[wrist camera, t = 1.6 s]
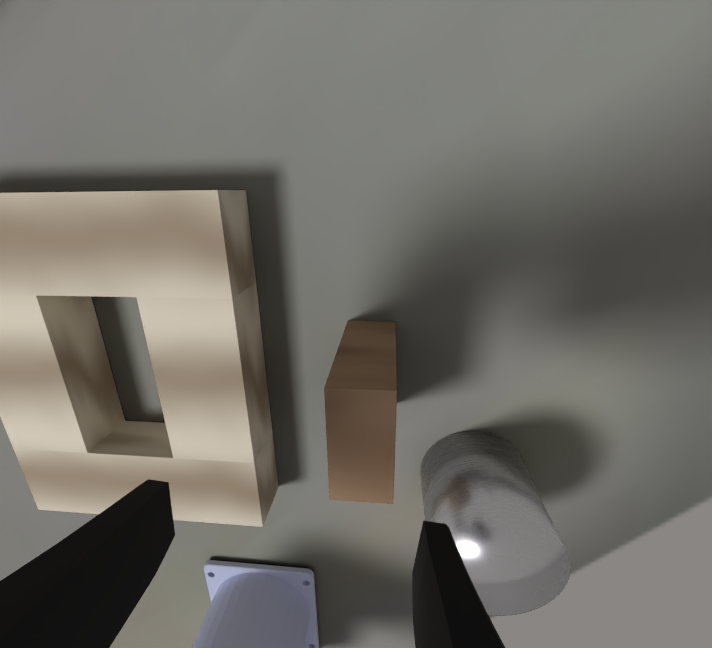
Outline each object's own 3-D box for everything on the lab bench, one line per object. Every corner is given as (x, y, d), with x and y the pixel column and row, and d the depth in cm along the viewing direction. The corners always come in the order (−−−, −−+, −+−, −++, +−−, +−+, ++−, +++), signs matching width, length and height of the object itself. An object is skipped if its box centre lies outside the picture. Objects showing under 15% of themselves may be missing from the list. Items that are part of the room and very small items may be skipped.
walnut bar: (393, 404, 21) (393, 504, 14) (349, 402, 21) (329, 499, 14) (395, 321, 19) (396, 391, 12) (348, 320, 19) (324, 388, 13)
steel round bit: (515, 513, 22) (557, 621, 17) (418, 507, 23) (426, 609, 17) (531, 433, 20) (583, 525, 15) (423, 427, 21) (434, 514, 15)
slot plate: (278, 486, 23) (262, 526, 21) (78, 473, 25) (38, 509, 22) (246, 190, 17) (217, 190, 14) (-18, 193, 19) (-92, 194, 16)
